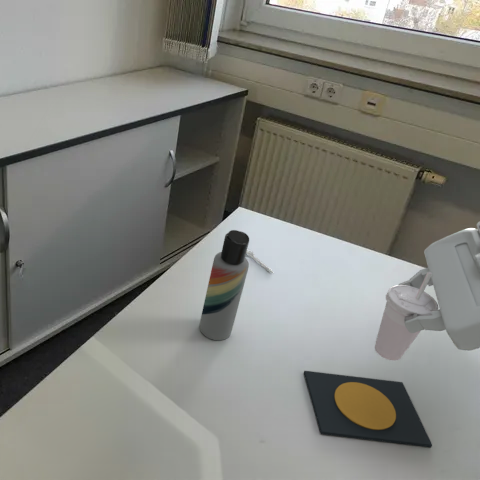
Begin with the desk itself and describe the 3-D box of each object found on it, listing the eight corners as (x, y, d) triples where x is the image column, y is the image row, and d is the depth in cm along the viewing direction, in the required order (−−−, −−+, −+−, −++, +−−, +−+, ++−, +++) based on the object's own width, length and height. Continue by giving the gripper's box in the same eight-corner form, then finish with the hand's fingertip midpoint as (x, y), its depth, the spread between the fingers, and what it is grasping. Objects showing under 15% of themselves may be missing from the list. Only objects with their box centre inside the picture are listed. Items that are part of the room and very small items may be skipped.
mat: (401, 384, 88) (403, 381, 88) (431, 447, 78) (433, 444, 78) (303, 372, 89) (304, 369, 88) (320, 434, 78) (322, 430, 78)
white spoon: (274, 274, 112) (276, 266, 110) (258, 279, 110) (260, 270, 108) (231, 239, 122) (233, 231, 120) (216, 243, 120) (218, 235, 118)
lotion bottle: (211, 315, 99) (233, 221, 88) (237, 331, 96) (263, 236, 85) (192, 328, 95) (212, 232, 85) (218, 346, 92) (242, 249, 81)
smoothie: (419, 369, 75) (462, 289, 68) (374, 365, 75) (412, 285, 67) (400, 337, 80) (438, 260, 73) (358, 334, 80) (391, 256, 73)
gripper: (557, 340, 58) (425, 377, 66) (507, 246, 75) (406, 284, 82) (531, 297, 57) (399, 339, 64) (486, 211, 74) (385, 253, 81)
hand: (403, 307), depth 74 cm, fingers closed on smoothie, 6 cm apart
